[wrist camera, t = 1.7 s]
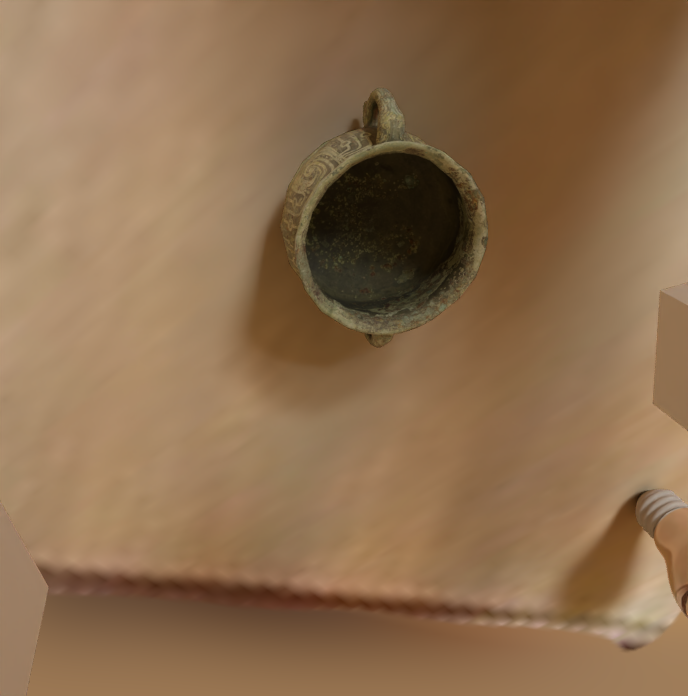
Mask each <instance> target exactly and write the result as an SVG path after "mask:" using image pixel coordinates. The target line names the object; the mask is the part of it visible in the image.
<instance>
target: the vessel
mask: <svg viewBox="0 0 688 696" xmlns="http://www.w3.org/2000/svg"><path fill="white" fill-rule="evenodd" d="M363 123H364V128H361V129H357V130H353V131H350V132H346V133H344V134H342V135H340V136H337V137H335V138H333V139H331V140H329V141H327V142H325V143H323V144H322V145H321V146H320V147H319V148H318V149H316V150H315V151H314V152H313V153H312V154H311V155H310V156H309V157H308V158H306V159H305V160H304V161H303V162H302V164H301V165H300V167H299V169H298V171H297V172H296V174H295V176H294V178H293V179H292V181H291V183H290V184H289V186H288V190H287V194H286V199H285V204H284V209H283V215H282V220H281V225H280V228H281V231H282V235H283V239H284V243H285V247H286V251H287V255H288V259H289V263H290V265H291V267H292V268H293V269H294V271H295V272H296V273H297V275H298V276H299V277H300V279H301V280H302V283H303V286H304V289H305V290H306V292H307V293H308V295H309V296H310V297H311V299H312V300H313V301H314V303H315V304H316V305H317V307H318V308H319V309H320V311H321V312H323V313H324V314H326V315H327V316H329V317H331V318H332V319H334V320H335V321H337V322H339V323H340V324H342V325H343V326H345V327H347V328H349V329H352V330H355V331H358V332H361V333H365V336H366V338H367V340H368V341H369V342H370V344H371V345H373V346H375V347H382V346H383V345H385V344H386V343H388V342H389V341H391V339H392V337H393V334H397V333H402V332H405V331H408V330H411V329H415V328H417V327H419V326H421V325H423V324H425V323H427V322H429V321H431V320H433V319H434V318H435V317H437V316H438V315H439V314H440V313H442V312H443V311H444V310H445V309H447V308H448V307H449V306H450V305H452V304H453V303H454V302H455V301H457V300H458V299H459V298H460V296H461V295H462V294H463V292H464V291H465V290H466V289H467V287H468V286H469V285H470V284H471V282H472V281H473V280H474V278H475V277H476V275H477V272H478V269H479V266H480V264H481V261H482V258H483V255H484V253H485V250H486V245H487V240H488V224H487V216H486V208H485V201H484V197H483V195H482V194H481V192H480V190H479V188H478V187H477V185H476V183H475V181H474V179H473V178H472V176H471V174H470V173H469V172H468V171H466V170H465V169H464V168H463V167H462V166H460V165H459V164H458V163H457V162H456V161H454V160H453V159H452V158H451V157H449V156H448V155H447V154H446V153H445V152H443V151H441V150H438V149H436V148H434V147H431V146H429V145H427V144H425V143H424V142H423V141H422V140H421V139H420V138H418V137H417V136H414V135H412V134H409V133H407V132H405V121H404V115H403V114H402V112H401V111H400V109H399V108H398V106H397V104H396V102H395V100H394V98H393V96H392V94H391V93H390V92H389V91H388V90H387V89H384V88H377V89H376V90H374V91H373V92H372V93H371V94H370V97H369V99H368V101H366V102H364V106H363Z"/></svg>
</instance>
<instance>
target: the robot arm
mask: <svg viewBox="0 0 688 696" xmlns="http://www.w3.org/2000/svg"><path fill="white" fill-rule="evenodd" d="M653 404H654V405H655V406H657V407H658V408H659V409H661V410H662V411H663V412H664V413H666V414H667V415H668V416H670V417H671V418H672V419H673V420H675V421H676V422H677V423H679V424H680V425H681V426H682V427H684V428H685V429H686V430H688V283H684V284H681V285H677V286H673V287H670V288H666V289H663V290H660V297H659V313H658V329H657V345H656V360H655V376H654V392H653ZM48 588H49V587H48V586H47V584H46V582H45V580H44V578H43V577H42V575H41V573H40V571H39V569H38V568H37V566H36V564H35V562H34V560H33V559H32V557H31V555H30V553H29V551H28V550H27V548H26V546H25V544H24V542H23V541H22V539H21V537H20V535H19V534H18V532H17V530H16V528H15V526H14V525H13V523H12V521H11V519H10V517H9V516H8V514H7V512H6V510H5V508H4V507H3V505H2V503H1V501H0V696H26V693H27V688H28V684H29V679H30V674H31V670H32V665H33V660H34V654H35V650H36V646H37V641H38V635H39V631H40V627H41V622H42V617H43V612H44V607H45V602H46V598H47V593H48Z"/></svg>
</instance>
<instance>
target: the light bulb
mask: <svg viewBox="0 0 688 696" xmlns="http://www.w3.org/2000/svg"><path fill="white" fill-rule="evenodd" d="M635 514H636V518H637V522H638V523H639V525H640V526H642V527H643V529H644V530H645V531H646V532H647V533H648V534H649V535H650V536H651V537H652V538H653V539H654V542H655V545H656V547H657V549H658V550H659V552H660V553H661V555H662V556H663V558H664V560H665V563H666V568H667V575H668V580H669V584H670V588H671V592H672V594H673V597H674V599H675V601H676V603H677V604H678V606H679V607H680V609H681V610H682V612H683V613H684V614H685V616H686V617H687V618H688V505H687V504H686V503H685V502H683V501H682V500H681V498H679V497H678V496H677V495H676V494H675V493H674V492H673V491H671V490H665V489H655V490H650V491H645V492H643V493H641V494H640V496H639V497H638V501H637V504H636V511H635Z"/></svg>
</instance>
